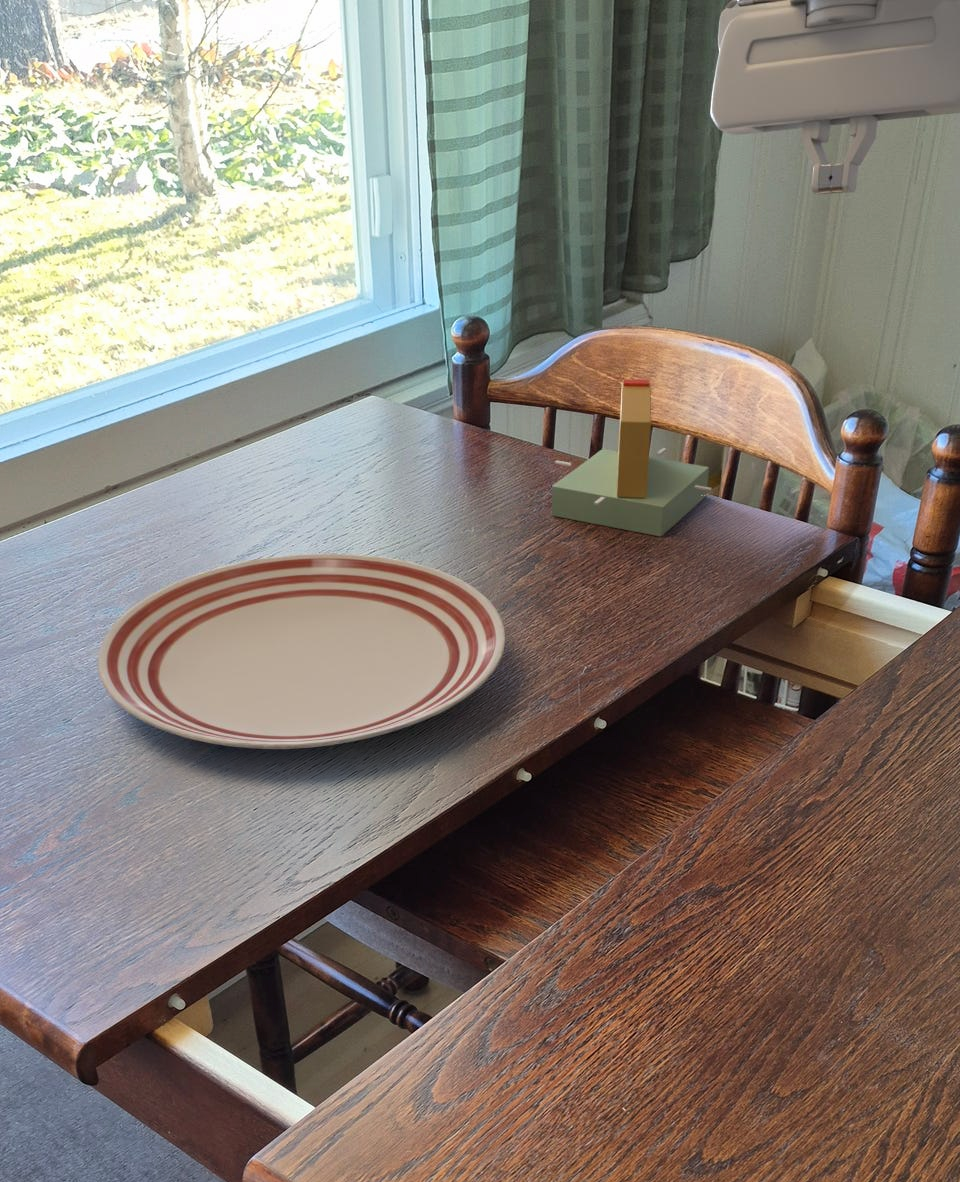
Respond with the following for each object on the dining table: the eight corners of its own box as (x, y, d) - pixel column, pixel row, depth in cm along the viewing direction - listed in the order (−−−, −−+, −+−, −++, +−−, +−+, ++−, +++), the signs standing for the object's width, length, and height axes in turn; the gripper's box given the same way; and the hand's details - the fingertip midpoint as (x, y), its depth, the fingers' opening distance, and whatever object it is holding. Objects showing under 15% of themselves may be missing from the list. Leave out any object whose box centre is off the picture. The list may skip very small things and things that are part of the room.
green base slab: (738, 492, 124) (741, 461, 122) (674, 551, 115) (677, 518, 113) (589, 466, 129) (590, 435, 127) (517, 520, 120) (517, 488, 118)
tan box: (646, 498, 116) (651, 418, 112) (616, 497, 117) (620, 418, 112) (645, 455, 124) (650, 379, 120) (618, 454, 124) (622, 378, 120)
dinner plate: (407, 817, 85) (404, 768, 83) (23, 735, 93) (11, 689, 91) (560, 627, 104) (561, 583, 102) (230, 573, 112) (225, 531, 110)
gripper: (703, -18, 106) (691, 197, 112) (981, -62, 96) (953, 177, 102) (738, 1, 111) (725, 206, 117) (1007, -39, 101) (978, 188, 106)
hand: (833, 192), depth 109 cm, fingers closed
